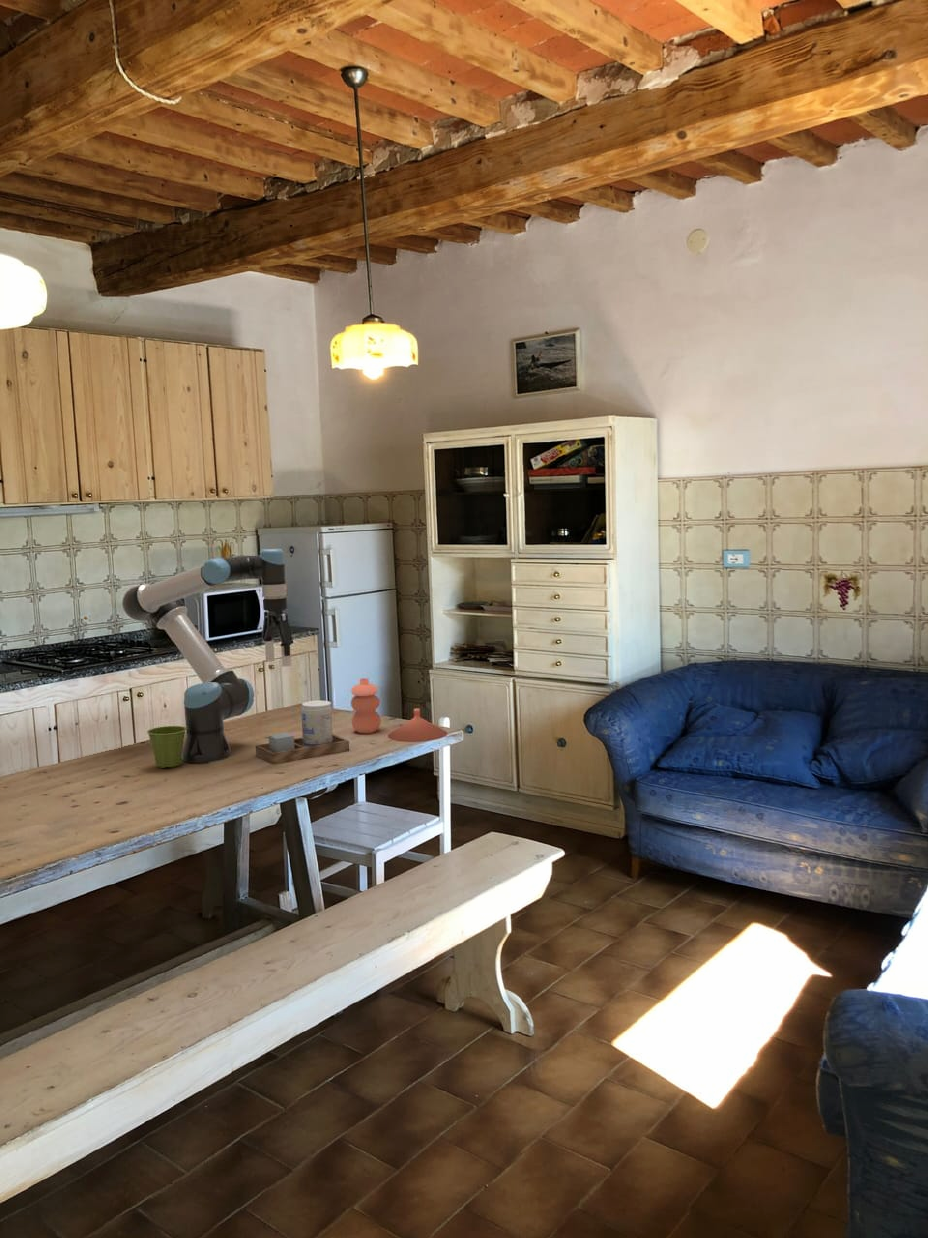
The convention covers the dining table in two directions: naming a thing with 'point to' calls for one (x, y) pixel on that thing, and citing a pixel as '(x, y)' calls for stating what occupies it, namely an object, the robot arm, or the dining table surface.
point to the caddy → (302, 750)
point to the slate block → (281, 742)
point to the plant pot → (167, 745)
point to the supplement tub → (316, 723)
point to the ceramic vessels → (370, 720)
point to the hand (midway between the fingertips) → (278, 663)
